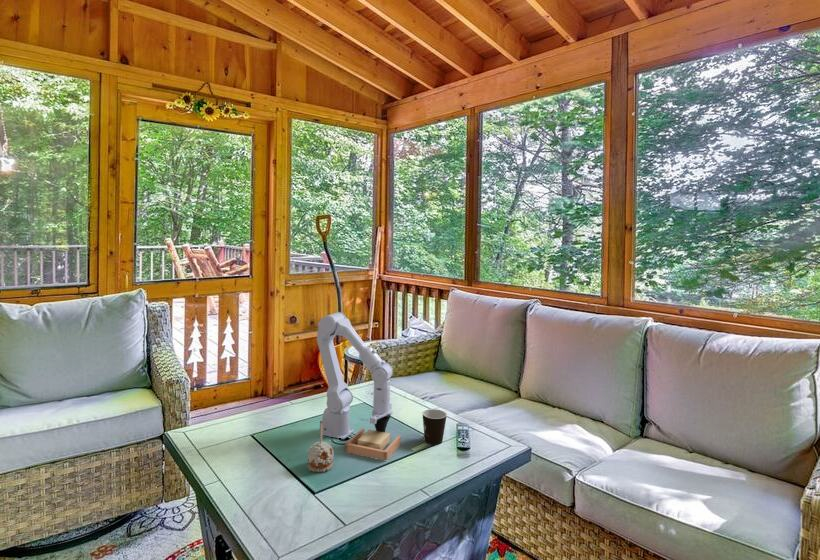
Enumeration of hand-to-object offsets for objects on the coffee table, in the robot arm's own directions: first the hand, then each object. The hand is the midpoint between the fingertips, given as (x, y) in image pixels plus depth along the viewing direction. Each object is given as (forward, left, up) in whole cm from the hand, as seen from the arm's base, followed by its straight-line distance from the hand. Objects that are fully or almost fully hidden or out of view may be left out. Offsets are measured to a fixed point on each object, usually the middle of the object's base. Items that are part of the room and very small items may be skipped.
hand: (380, 435), depth 162 cm
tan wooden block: (0, -6, -2) cm, 6 cm away
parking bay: (0, -6, -2) cm, 6 cm away
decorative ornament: (-10, -24, -2) cm, 26 cm away
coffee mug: (+17, +9, -2) cm, 20 cm away
